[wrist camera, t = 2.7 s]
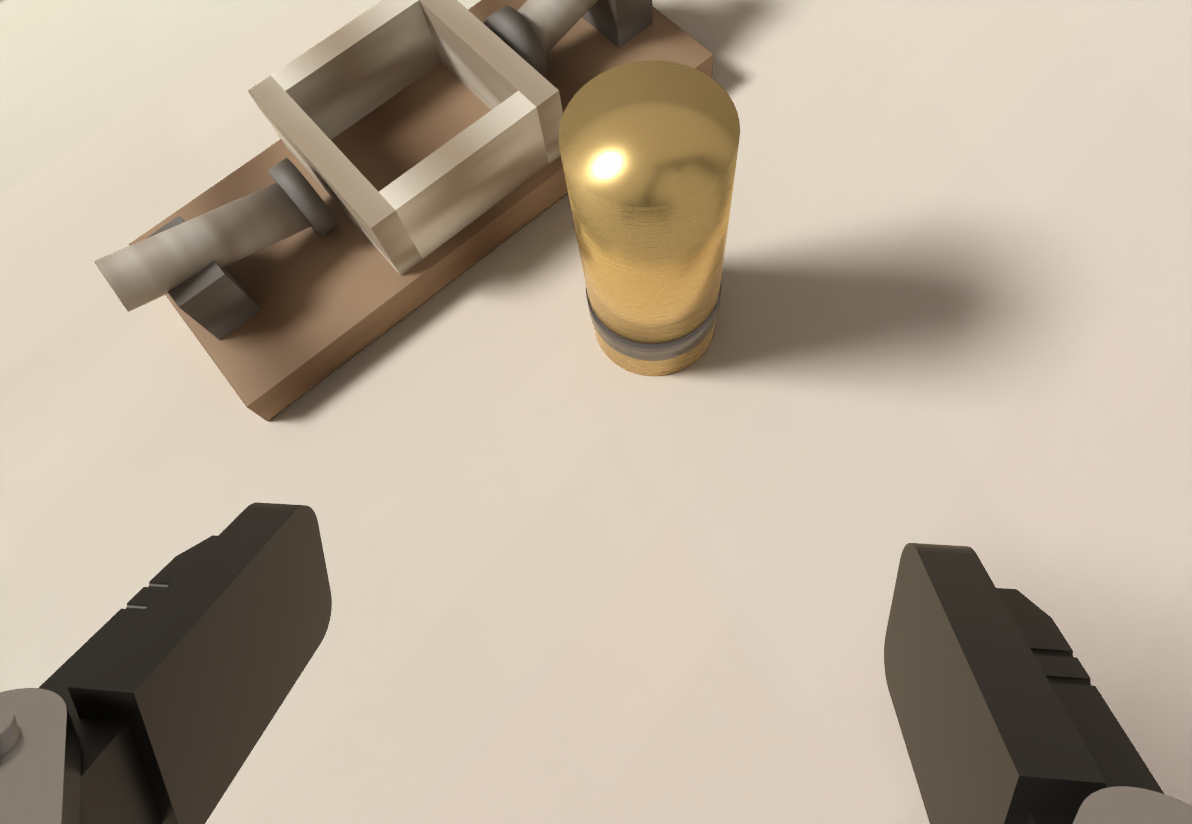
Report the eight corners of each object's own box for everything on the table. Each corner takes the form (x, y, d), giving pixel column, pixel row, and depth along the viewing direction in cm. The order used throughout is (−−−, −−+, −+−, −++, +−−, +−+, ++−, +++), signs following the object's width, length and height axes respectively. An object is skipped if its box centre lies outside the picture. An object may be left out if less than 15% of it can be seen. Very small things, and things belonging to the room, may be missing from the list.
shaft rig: (585, -39, 35) (571, -169, 29) (725, 71, 32) (737, -52, 26) (135, 277, 31) (26, 190, 25) (249, 435, 28) (152, 374, 23)
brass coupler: (658, 245, 29) (655, 30, 20) (742, 323, 28) (781, 131, 18) (567, 317, 28) (519, 130, 19) (649, 401, 27) (640, 243, 18)
